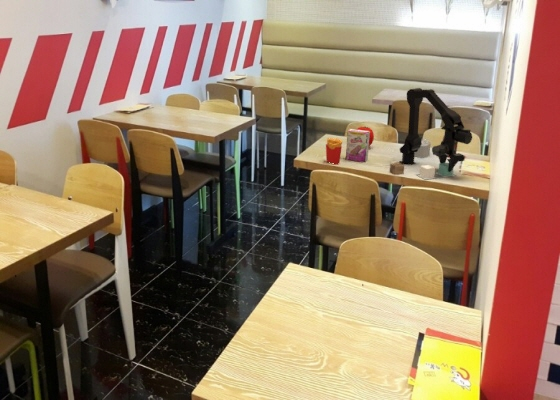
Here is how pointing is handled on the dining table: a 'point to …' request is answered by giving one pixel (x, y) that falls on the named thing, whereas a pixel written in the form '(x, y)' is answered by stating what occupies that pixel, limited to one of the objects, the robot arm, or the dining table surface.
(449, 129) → the robot arm
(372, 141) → the tomato
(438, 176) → the slate board
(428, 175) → the block
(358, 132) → the candy bar box
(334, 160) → the french fries
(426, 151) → the lumpy-topped squat cylinder
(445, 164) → the teal block
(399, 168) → the walnut block
